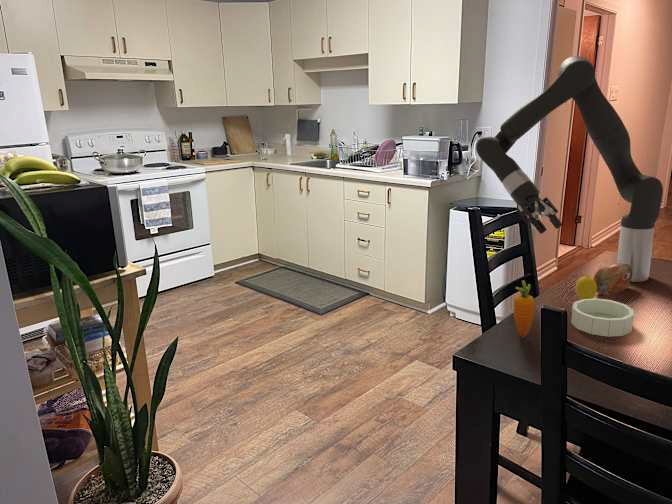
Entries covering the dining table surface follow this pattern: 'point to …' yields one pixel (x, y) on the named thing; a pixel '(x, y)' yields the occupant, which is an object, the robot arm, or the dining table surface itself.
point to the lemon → (586, 287)
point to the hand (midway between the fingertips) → (552, 229)
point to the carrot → (523, 310)
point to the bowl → (602, 317)
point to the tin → (613, 278)
